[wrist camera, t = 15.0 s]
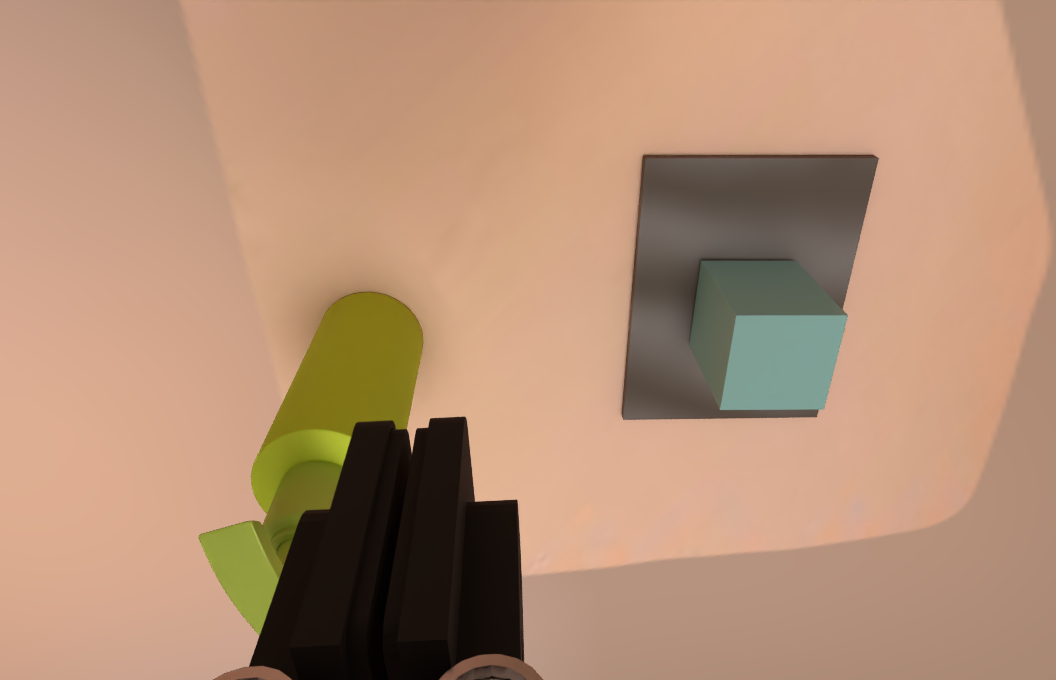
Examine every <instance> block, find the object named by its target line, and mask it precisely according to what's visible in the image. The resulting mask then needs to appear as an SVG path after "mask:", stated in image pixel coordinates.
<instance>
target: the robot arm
mask: <svg viewBox="0 0 1056 680" xmlns="http://www.w3.org/2000/svg"><path fill="white" fill-rule="evenodd" d="M213 680H543V679H542V678H541V677H540V675H539V674H538V673H537V672H536V671H535V670H534V669H533V668H532V667H531V666H529V665H527V664H526V663H524V639H523V606H522V574H521V551H520V532H519V515H518V501H517V500H502V501H482V502H475V497H474V487H473V477H472V467H471V457H470V447H469V437H468V427H467V420H466V417H449V418H431V419H430V422H429V427H428V428H417V430H416V434H415V440H414V446H413V452H412V453H411V446H410V440H409V434H408V431H407V429H396V427H395V423H394V421H392V420H387V421H367V422H357V423H356V424H355V426H354V429H353V433H352V436H351V439H350V443H349V446H348V449H347V453H346V456H345V460H344V463H343V466H342V470H341V473H340V477H339V480H338V483H337V487H336V490H335V493H334V497H333V500H332V504H331V507H330V509H321V510H306V511H305V512H304V513H303V514H302V516H301V518H300V520H299V522H298V525H297V528H296V531H295V534H294V537H293V540H292V542H291V545H290V548H289V551H288V554H287V557H286V560H285V563H284V566H283V569H282V572H281V575H280V578H279V580H278V583H277V586H276V589H275V592H274V595H273V598H272V601H271V604H270V607H269V610H268V613H267V616H266V619H265V621H264V624H263V627H262V630H261V633H260V636H259V639H258V642H257V645H256V648H255V651H254V654H253V657H252V660H251V663H250V665H249V667H243V668H239V669H236V670H233V671H230V672H227V673H224V674H222V675H221V676H219V677H217V678H215V679H213Z"/></svg>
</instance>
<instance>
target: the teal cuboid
mask: <svg viewBox="0 0 1056 680" xmlns="http://www.w3.org/2000/svg"><path fill="white" fill-rule="evenodd" d="M847 317H848V315H847V314H846V313H845V312H844V311H843V310H842V309H841V308H840V307H839V306H838V304H837V303H836V302H835V301H834V300H833V299H832V298H831V297H830V296H829V295H828V294H827V293H826V292H825V291H824V290H823V289H822V287H821V286H820V285H819V284H818V283H817V282H816V281H815V280H814V279H813V278H812V277H811V276H810V275H809V274H808V273H807V272H806V270H805V269H804V268H803V267H802V266H801V265H800V264H799V263H798V262H797V261H701V265H700V272H699V279H698V286H697V294H696V301H695V308H694V315H693V322H692V329H691V336H690V343H689V346H690V348H691V350H692V352H693V354H694V356H695V358H696V360H697V362H698V365H699V367H700V369H701V371H702V373H703V375H704V377H705V379H706V381H707V384H708V386H709V388H710V390H711V392H712V394H713V396H714V398H715V400H716V403H717V405H718V407H719V409H720V410H807V409H824V407H825V403H826V399H827V395H828V392H829V388H830V384H831V380H832V376H833V372H834V368H835V364H836V360H837V356H838V352H839V348H840V344H841V340H842V337H843V333H844V329H845V325H846V321H847Z"/></svg>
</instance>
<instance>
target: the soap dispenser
mask: <svg viewBox="0 0 1056 680" xmlns="http://www.w3.org/2000/svg"><path fill="white" fill-rule="evenodd" d="M422 348H423V335H422V330H421V327H420V324H419V322H418V320H417V319H416V317H415V316H414V314H413V313H412V312H411V311H410V310H409V309H408V308H407V307H406V306H405V305H404V304H402V303H401V302H399V301H398V300H396V299H394V298H392V297H389V296H387V295H384V294H380V293H373V292H361V293H355V294H351V295H348V296H346V297H343V298H342V299H340V300H338V301H337V302H335V303H334V304H333V305H332V306H331V307H330V308H329V309H328V310H327V312H326V313H325V315H324V317H323V319H322V321H321V323H320V325H319V327H318V330H317V332H316V334H315V336H314V338H313V340H312V342H311V344H310V346H309V348H308V350H307V353H306V355H305V357H304V359H303V361H302V363H301V365H300V367H299V369H298V371H297V374H296V376H295V378H294V380H293V382H292V384H291V386H290V388H289V390H288V392H287V394H286V397H285V399H284V401H283V403H282V405H281V407H280V409H279V411H278V413H277V415H276V418H275V420H274V422H273V424H272V426H271V428H270V430H269V432H268V435H267V437H266V439H265V441H264V443H263V445H262V447H261V449H260V452H259V454H258V455H257V457H256V459H255V462H254V464H253V468H252V473H251V484H252V489H253V492H254V495H255V497H256V499H257V501H258V503H259V505H260V506H261V508H262V509H263V510H264V511H265V512H266V513H267V515H266V518H265V520H264V523H263V525H262V524H261V523H260V522H259V521H246V522H243V523H239V524H235V525H232V526H228V527H225V528H221V529H217V530H214V531H210V532H206V533H203V534H200V535H199V540H200V543H201V545H202V547H203V550H204V552H205V554H206V556H207V558H208V560H209V562H210V564H211V567H212V569H213V571H214V572H215V574H216V576H217V578H218V580H219V582H220V583H221V585H222V587H223V588H224V590H225V592H226V593H227V595H228V596H229V598H230V599H231V601H232V602H233V604H234V605H235V606H236V608H237V609H238V610H239V612H240V613H241V614H242V616H243V617H244V618H245V619H246V620H247V622H248V623H249V624H250V625H251V626H252V628H253V629H254V630H255V631H256V632H257V633H258V634H259V636H260V633H261V630H262V627H263V624H264V621H265V619H266V616H267V613H268V610H269V607H270V604H271V601H272V598H273V595H274V592H275V589H276V586H277V583H278V580H279V578H280V575H281V572H282V569H283V566H284V563H285V560H286V557H287V554H288V551H289V548H290V545H291V542H292V540H293V537H294V534H295V531H296V528H297V525H298V522H299V520H300V518H301V516H302V514H303V513H304V512H305V511H306V510H321V509H330V507H331V504H332V500H333V497H334V493H335V490H336V487H337V483H338V480H339V477H340V473H341V470H342V466H343V463H344V460H345V456H346V453H347V449H348V446H349V443H350V439H351V436H352V433H353V429H354V426H355V424H356V423H357V422H367V421H387V420H392V421H394V423H395V427H396V429H407V425H408V420H409V415H410V410H411V404H412V399H413V394H414V389H415V384H416V379H417V374H418V368H419V363H420V358H421V353H422Z"/></svg>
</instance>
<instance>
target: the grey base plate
mask: <svg viewBox="0 0 1056 680" xmlns="http://www.w3.org/2000/svg"><path fill="white" fill-rule="evenodd" d="M878 159H879V158H877V157H876V156H874V155H679V156H643V165H642V177H641V189H640V201H639V213H638V225H637V237H636V249H635V261H634V273H633V285H632V297H631V309H630V321H629V333H628V345H627V357H626V369H625V381H624V393H623V405H622V417H623V420H641V419H714V418H787V417H817V414H818V410H819V409H807V410H720V409H719V407H718V405H717V403H716V400H715V398H714V396H713V394H712V392H711V390H710V388H709V386H708V384H707V381H706V379H705V377H704V375H703V373H702V371H701V369H700V367H699V365H698V362H697V360H696V358H695V356H694V354H693V352H692V350H691V348H690V346H689V343H690V336H691V329H692V322H693V315H694V308H695V301H696V294H697V286H698V279H699V272H700V265H701V261H797V262H798V263H799V264H800V265H801V266H802V267H803V268H804V269H805V270H806V272H807V273H808V274H809V275H810V276H811V277H812V278H813V279H814V280H815V281H816V282H817V283H818V284H819V285H820V286H821V287H822V289H823V290H824V291H825V292H826V293H827V294H828V295H829V296H830V297H831V298H832V299H833V300H834V301H835V302H836V303H837V304H838V306H839V307H840V308H841V309H843V305H844V301H845V297H846V293H847V288H848V284H849V280H850V276H851V272H852V268H853V263H854V259H855V255H856V251H857V247H858V242H859V238H860V234H861V230H862V226H863V222H864V217H865V213H866V209H867V205H868V201H869V197H870V192H871V188H872V184H873V180H874V176H875V171H876V167H877V163H878Z"/></svg>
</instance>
